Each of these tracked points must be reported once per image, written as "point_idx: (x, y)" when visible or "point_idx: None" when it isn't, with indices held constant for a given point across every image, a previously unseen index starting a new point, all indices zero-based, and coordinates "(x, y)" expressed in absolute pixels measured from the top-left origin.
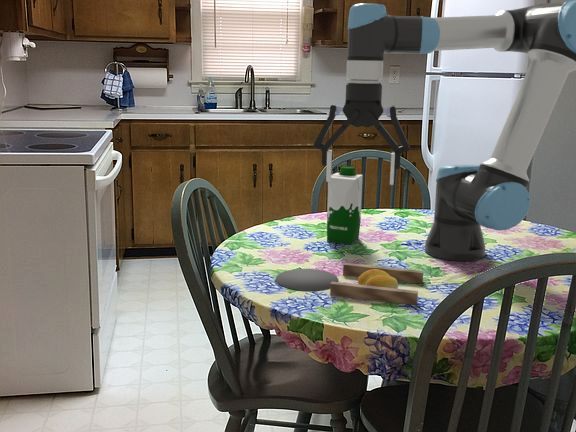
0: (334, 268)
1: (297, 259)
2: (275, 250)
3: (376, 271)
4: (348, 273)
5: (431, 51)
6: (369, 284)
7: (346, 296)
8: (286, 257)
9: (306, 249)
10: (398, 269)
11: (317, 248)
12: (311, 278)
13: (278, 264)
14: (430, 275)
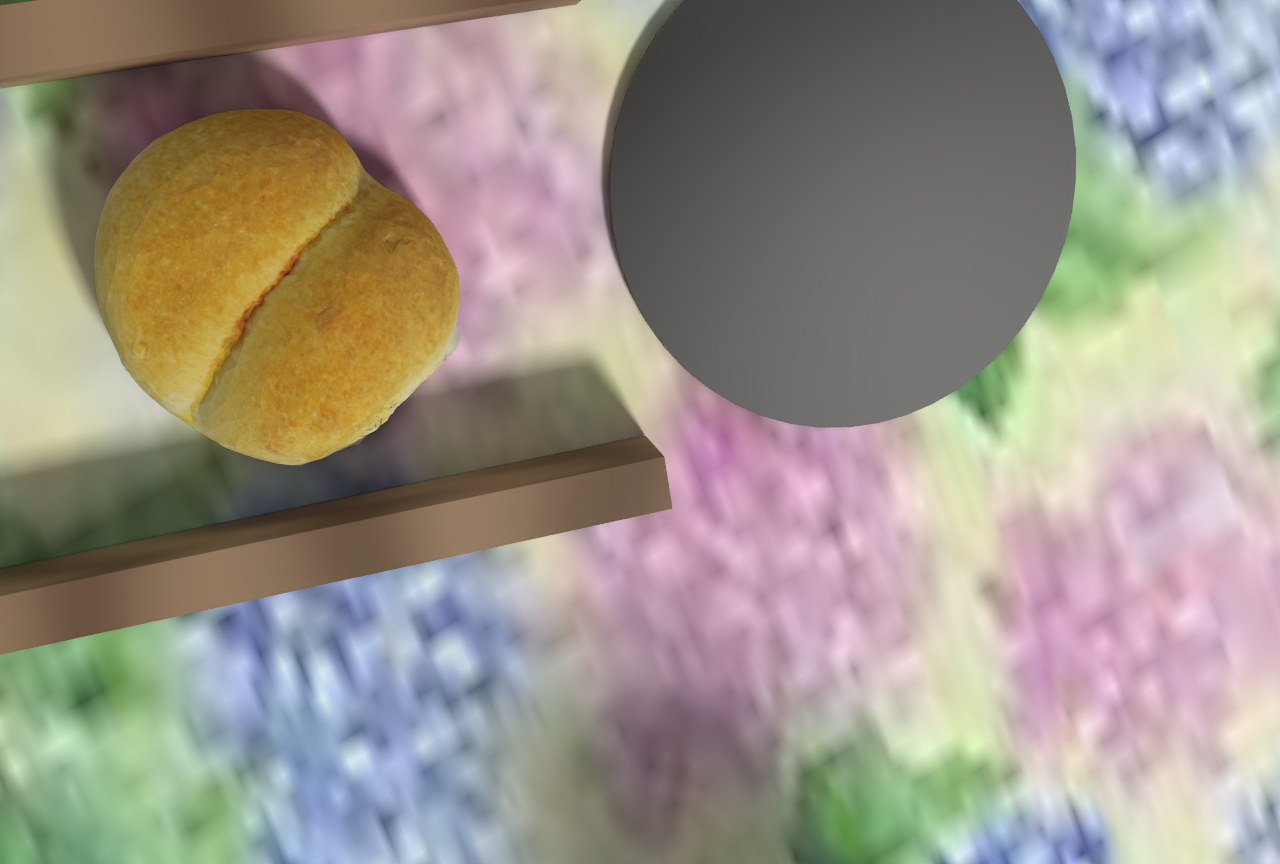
0: (757, 544)
1: (1069, 586)
2: (1272, 683)
3: (301, 324)
4: (605, 448)
5: None
6: (293, 127)
7: None
8: (1153, 584)
9: (1086, 824)
10: (196, 580)
11: None
12: (823, 208)
13: (1152, 410)
14: (14, 792)
